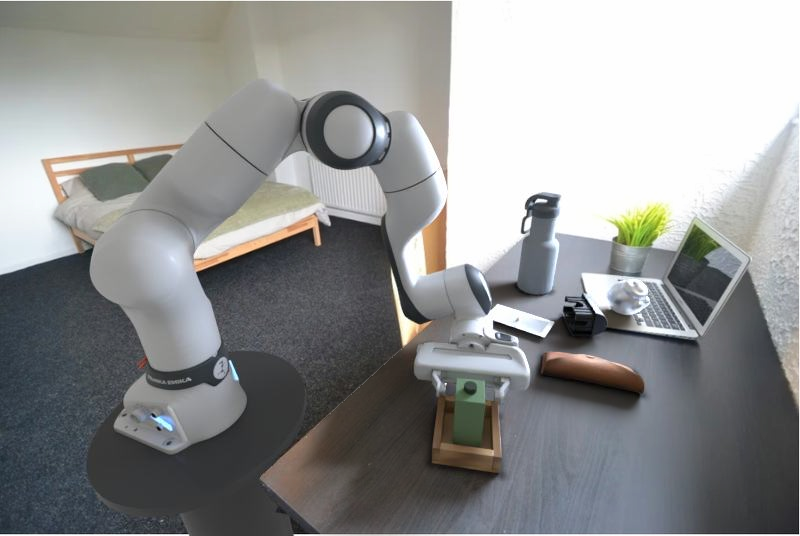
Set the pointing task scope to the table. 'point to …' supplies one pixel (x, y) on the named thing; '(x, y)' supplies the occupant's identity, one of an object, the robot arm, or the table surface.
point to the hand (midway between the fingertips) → (469, 397)
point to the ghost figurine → (628, 297)
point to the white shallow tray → (521, 320)
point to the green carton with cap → (469, 412)
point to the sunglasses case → (591, 370)
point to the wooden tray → (465, 455)
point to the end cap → (584, 316)
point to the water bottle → (539, 245)
